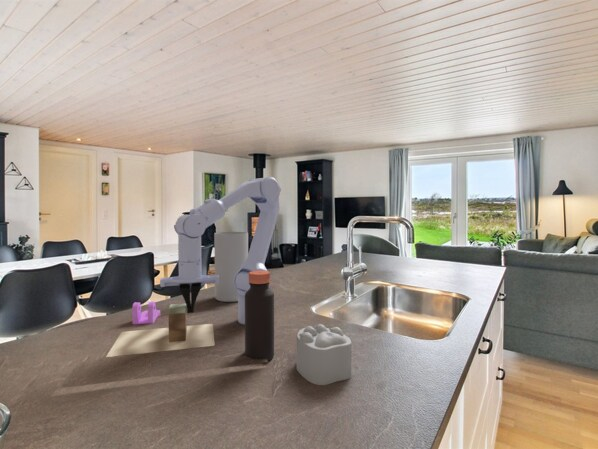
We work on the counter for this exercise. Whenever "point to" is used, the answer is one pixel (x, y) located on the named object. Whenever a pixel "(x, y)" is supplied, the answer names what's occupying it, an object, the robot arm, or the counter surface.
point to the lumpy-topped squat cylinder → (323, 354)
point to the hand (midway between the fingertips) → (190, 311)
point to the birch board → (161, 340)
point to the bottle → (259, 317)
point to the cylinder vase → (229, 262)
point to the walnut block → (177, 322)
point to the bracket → (144, 313)
